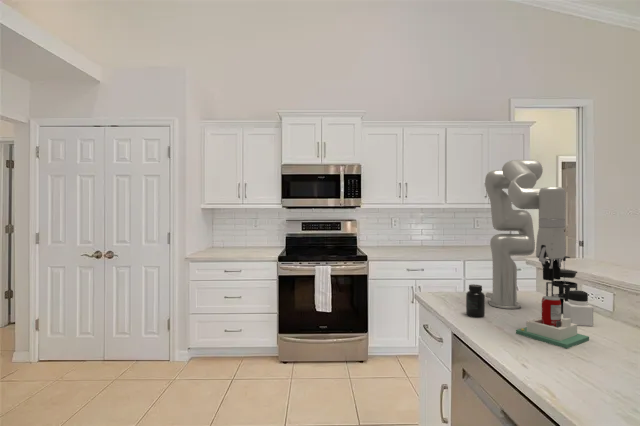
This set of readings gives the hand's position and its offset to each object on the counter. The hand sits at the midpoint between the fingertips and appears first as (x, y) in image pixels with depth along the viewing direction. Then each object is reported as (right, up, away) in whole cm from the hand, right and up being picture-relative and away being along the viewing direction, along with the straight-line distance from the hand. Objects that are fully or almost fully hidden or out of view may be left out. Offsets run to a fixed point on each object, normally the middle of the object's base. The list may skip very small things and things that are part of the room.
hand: (551, 279), depth 122 cm
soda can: (0, -18, 0) cm, 18 cm away
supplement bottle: (-15, -19, +25) cm, 35 cm away
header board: (0, -19, 0) cm, 19 cm away
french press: (+24, -19, +30) cm, 43 cm away
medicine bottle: (+19, -19, +15) cm, 31 cm away
